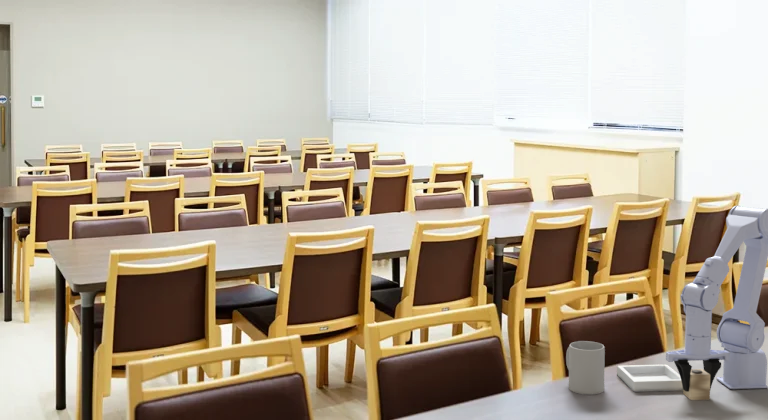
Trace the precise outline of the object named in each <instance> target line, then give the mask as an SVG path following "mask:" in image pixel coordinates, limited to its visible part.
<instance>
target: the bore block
mask: <svg viewBox="0 0 768 420" xmlns="http://www.w3.org/2000/svg"><path fill="white" fill-rule="evenodd" d="M682 392H683V393H682V394H683V395H684V396H686V397H687V398H688V399H689V400H691V401H700V400H705V401H706V400H707V401H709V400H710V398H711V396H710V395H711V389H710V374H709V373H707V372H706V371H705V370H704V368H691V372H690V387H689V391H688V392H686V391H685V390H684V389H683V390H682Z"/></svg>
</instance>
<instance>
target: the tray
mask: <svg viewBox="0 0 768 420" xmlns="http://www.w3.org/2000/svg"><path fill="white" fill-rule="evenodd" d="M616 376H617V377H618V378H619V379H620V380H621V381H622V382H623V383H625V385H626V386H627V387H628V388H630V390H631V391H633V392H635V393H637V392H638V393H639V392H670V391H677V392H679V391H683V386H682V381H681V377H680V374H679V372H677V371H676V370H675V369H673V368H672V367H671V366H669V365H668V364H633V365H629V364H628V365H617V366H616Z"/></svg>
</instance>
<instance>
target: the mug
mask: <svg viewBox="0 0 768 420" xmlns="http://www.w3.org/2000/svg"><path fill="white" fill-rule="evenodd" d="M568 345H569V346H568V347H567V350H566V353H565V354H566V356H565V362H566V366H567V367H566V368H567V370H568V389H569V390H570V391H571V392H572V393H575V394H579V395H587V396H588V395H590V396H591V395H599V394H601V393H604V391H605V355H606V352H605V351H606V349H605V348H606V347H605V346H604V344H602V343H600V342H595V341H591V340H590V341H588V340H578V341H574V342H571V343H570V344H568Z"/></svg>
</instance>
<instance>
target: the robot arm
mask: <svg viewBox="0 0 768 420" xmlns="http://www.w3.org/2000/svg"><path fill="white" fill-rule="evenodd" d="M725 222H726V223H725V224H726V230H725V232H724V234H723V236H722V238H721V241H720V243H719V245H718V247H717V249H716V251H715V253H714V255H713V256H712V257H711V256H710V257H708V258H706V259H705V261H704V262H703V264H702V266H701V267H700V270H699V271H698V273H697V274H696V276H695V277H694V279H693V281H692V282H690V283H688V284H686V285H685V286H684V287H683V289H682V292H681V294H680V301H681V304H682V305H683V312H684V314H685V333H684V334H685V335H684V337H685V338H684V349H680V350H673V351H672V350H671V351H666V352H665V361H667V363H674V366H675V367H676V369H677V371H678V374H680V377H681V381H682V386H683V389H684V390H685V391H686V392H688V391H689V387H690V372H691V369H693V366H692V365H691V364H690V362H691V361H692V362H693V361H702V364H703V370H705V371H706V372H707V373H709V374H710V390H711V389H712V385H713V383H714V381H715V377H716V376H717V374H718V371H720V370H721V368H722V367H723V369H722V370H723V372H722V376H717V377H716V380H717V381H718V382H719V383H721V384H723V385H724V386H725V387H727V388H728V389H730V390H741V389H742V390H743V389H747V390H748V389H767V388H768V385H767V369H768V363H767V362H768V360H767V355H766V352H765V351H764V350H763V349H762V346H764V342H765V339H766V338H765V325H766V323H765V322H764V320H763V318H762V317H760V316H759V314H758V313H757V311H758V305H759V302H760V301H759V300H760V297H761V296H760V295H761V292H762V286H763V282H764V277H765V273H766V268H767V263H768V208H760V207H749V206H741V205H734V206H733V207H732V208H731V209H730V210H729V212H728V214H727V216H726V218H725ZM742 244H745V246H746V248H745V252H744V255H743V256H744V257H743V262H742V264H741V265H742V266H741V270H740V271H741V272H740V274H739V275H740V276H739V280H738V283H737V289H736V294H735V298H734V302H733V307H732V308H731V309H728V310H727V311H725V312H723V314H722V317H721V320H720V322H719V324H718V326H717V328H716V338H717V340H718V343H720V344H721V345H720V346H721V348H723V350H717V349H711V347H712V343H711V342H712V322H713V321H712V318H713V309H714V308H716V306H717V304H718V302H719V297H720V293H721V289H720V287H721V286H722V284H723V283H724V281H725V279H726V278H727V275H728V274H729V272H730V266H729V262H730V261H731V260H732V258H733V257H734V255H735V254H736V252H737V251H738V250H739V248H740V247H741V245H742ZM739 321H742V322H739ZM744 322H745V323H744ZM746 322H747V323H746ZM720 360H721V361H723V366H722V362H721V361H720ZM689 361H690V362H689Z"/></svg>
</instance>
